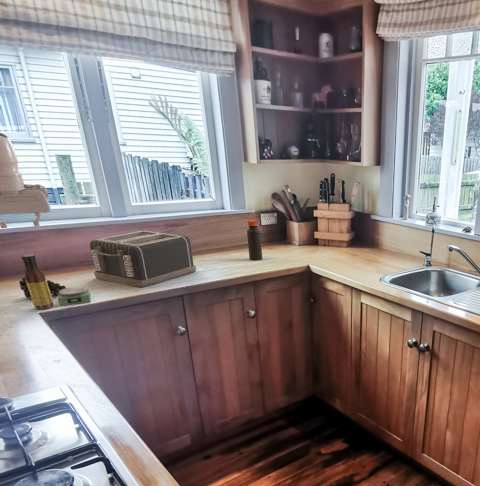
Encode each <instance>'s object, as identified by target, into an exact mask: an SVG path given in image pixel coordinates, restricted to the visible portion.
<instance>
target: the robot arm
mask: <svg viewBox="0 0 480 486" xmlns="http://www.w3.org/2000/svg"><path fill="white" fill-rule="evenodd" d="M17 157H18V156H17V154H16V151H15V148H14V146H13V143H12V141H11V139H10V138H9V137H8V136H7V135H6V134H5V133H2V132H0V215H17V214H18V215H19V214H20V215H21V214H34V216H35V217H36V218H35V219H36V220H33V221H32V223H33V224H32V225H33V227H40V226H41V225H40V222H39V221H40V218H41V217H42V216H41V214H45V213H46V214H47V213H49V212H51V209H52V208H51V204H50V201H49V199H48V197H49V193H48V189H47V188H46V187H45V186H44V185H41V184H38V183H36V184H29V183H28V184H25V181H24V178H23V175H22V173H21V170H20V169H19V159H18V158H17ZM0 228H1V229H7V228H8V225H7V222H6V221H2V219H0Z"/></svg>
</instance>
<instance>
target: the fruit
mask: <svg viewBox="0 0 480 486" xmlns="http://www.w3.org/2000/svg"><path fill="white" fill-rule="evenodd" d="M18 283H19V288H20V290H21V291H23V293H24V296H25V298H27V299H30V298H31V295H30V292H29V290H28V287H27V284H26V281H25V276H24V277H22V278H21V280H19V281H18ZM47 283H48V286H49V289H50V292H51V295H52V296H58V295H59V291H60V290H62V289H65V288H67V287H66V286H65V285H61V284H60V283H58V282H54V281H52V280H50V279H48V280H47Z"/></svg>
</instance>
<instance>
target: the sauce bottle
mask: <svg viewBox="0 0 480 486" xmlns="http://www.w3.org/2000/svg"><path fill="white" fill-rule="evenodd" d="M20 257H21V260H22V261H23V264H24V268H25V269H24V270H25V271H24V277H25V281H26V284H27V287H28V290H29V292H30V295H31V297H30V298H31V302H32V304H33V305H34V308H35V309H37V310H47V309H51V308H53V307H54V306H55V304H54V299H53V295H52V294H51V292H50V289H49V286H48V283H47V281H48V280H47V277H46V275H45V272H44V271H43V270H42V269H41V268H40V267H39V264H38V263H37V259H36V254H34V253H26V254H22V255H21V256H20Z"/></svg>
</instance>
